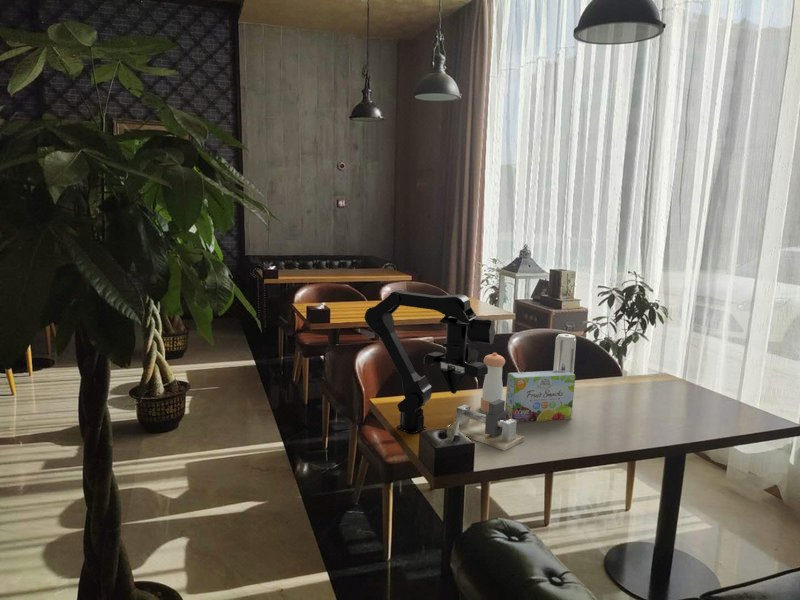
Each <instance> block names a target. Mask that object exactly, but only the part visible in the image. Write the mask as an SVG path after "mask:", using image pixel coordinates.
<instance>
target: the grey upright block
mask: <svg viewBox="0 0 800 600" xmlns="http://www.w3.org/2000/svg"><path fill="white" fill-rule="evenodd" d="M505 404H506V400H504V399H503V400H500V399H498V400H496V401H493V402H491V403H489V412H485V415H486V422H485V423H484V424H485V434H488V435H491V436H496V435H498V434H500V433H502V428H501V427H498V426H497V424H498V420H503V421H507V419H506V415H507V411H505Z"/></svg>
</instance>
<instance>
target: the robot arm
mask: <svg viewBox="0 0 800 600" xmlns="http://www.w3.org/2000/svg"><path fill="white" fill-rule="evenodd" d="M400 306H404V307H408V308H409V307H410V308H416V309H417V308H418V309H424V310H425V309H426V310H430V311H431V310H432V311H437V312H438V313H439V314H440V313H441V314H442V315H444V316H443V317H442V318H441V319H440V320H439V323H440V324H445V325H446V330H445V331H446V332H445V334H446V336H445V342H443V343H442V347H443V348H445V353H442V352H439V351H433V352H430V353H426V354H425V356H424V358H423V364H425V365H427V366H431V367H432V366H434V364H435V363H438V364H440V368H438V370H439V372H441V374H442V376H443V377H444V379H445V381H446V383H447V385H448V388H449V390H450V393H451V394H456V393H457V392H458V389H459V386H460V384H461V382H462V380H463V378H464V376H468V377H472V378H478V377H481V376H482V377H483V376H485V374H488V367H487V365H486V364H484V362H479V361H478V357H479V352H480V351H478V350H476V349H474V348H473V349H472V348H470V343H469V342H472V343H479V344H487V345H492V344H493V343H494V340H495V337H496V336H495V335H496V329H495V325H494V319H492V318H479V317H478V316H477V314H476V313H475V311H474V309H473V308H472V307H471V300H470V299H469V297H468V296H467V295H465V294H463V293H461V294H460V293H459V294H448V295H433V294H432V295H431V294H425V293H417V292H409V291H403V290H396V291H392V292H391V293H389V295H387V296H386V297H385V298H384V299H383V300H381V301H380V302H379V303H377V304H376V305H375V306H372V307H368V308H367V309H366V311H365V313H364V316H363V317H364V320H365V323H366V325H368V327H369V328H370V330H371V331H372V332H373V333H374V334H375V335H376V336H378V337H379V338H380V340H381V342H382V344H383V345H384V348H385V350H386V351H387V354H388V356H389V358H390V359H391V362H392V363H393V366H394V368H395V370H396V373H398V375H399V377H400V380H401V382H402V383H401V384H402V393H403V395H404V398H403V399H402V400H401V401H400V402H399V403H398V404H397V409H398V412H400V417H399V419H400V423H399V424H397V426H396V429H399V430H401V429H402V430H401V431H403V430H405V431H404V432H406V431H408V432H410V433H409V434H411V433H413V434H415V433H414V432H416V431H418V432H420V431H419V430H421V429H423V430H425V429H424V428H427V426H426V425H424V424H425V423H424V422H425V415H424V409H422V407H424V406H425V405H426V403H427V402H428V401H429V400H430V399H431V397H432V394H433V392H432V389H431V388H433V386H432V385H431V383H429V381H428V378H427V376H426V375H423V376H421V375H419V374H418V373H417V372H416V370H415V368H414V366H413V364H412V362H411V359H410V358H409V356H408V353H407V352H406V350H405V348H404V346H403V344H402V343H401V341H400V340H401V339H400V338H399V336H398V334H397V333H396V330H395V320H394V317H393V314H394V313H395V312H396V311H397V309H399V308H400ZM467 340H470V341H469V342H468V341H467ZM471 361H472V362H471ZM468 362H470V363H468ZM421 431H422V430H421ZM408 432H407V433H408ZM416 433H417V432H416Z"/></svg>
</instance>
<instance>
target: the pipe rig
mask: <svg viewBox="0 0 800 600" xmlns="http://www.w3.org/2000/svg"><path fill="white" fill-rule="evenodd" d="M455 415H456V417H455V419H456V421H457V420H458V421H459V426H463V425H466V424H468V423H469V421H470V419H473V420H476V421H479V422H482V423H486V414H484V413H481V412H477V411H475V410H471V405H467V404H462V405H460V406H457V407H456V414H455ZM456 421H455V422H456ZM517 424H518V423H517V421H516V420H513V419H509V420H507V419H506V421H503V420H498V424H497V426H498V427H501V428H502V441H505V442H510V441H511V440H513V439H515V438H516V434H517Z"/></svg>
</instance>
